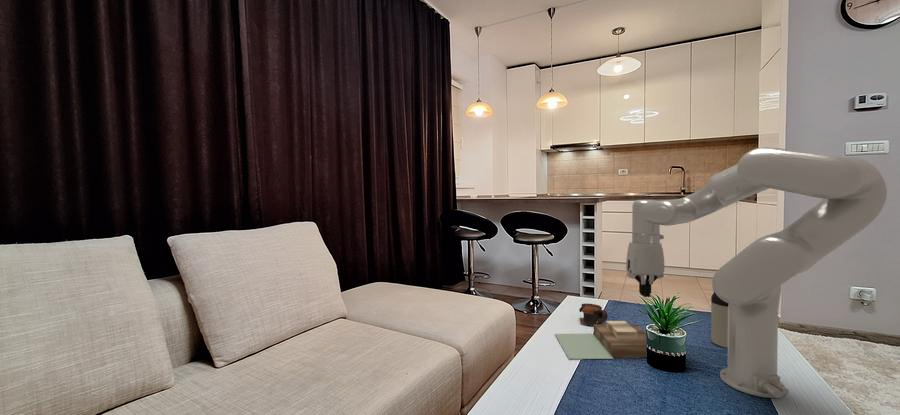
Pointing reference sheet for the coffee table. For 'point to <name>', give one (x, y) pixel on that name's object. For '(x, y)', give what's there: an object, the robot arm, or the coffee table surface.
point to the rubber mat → (582, 346)
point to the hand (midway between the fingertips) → (645, 295)
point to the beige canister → (719, 321)
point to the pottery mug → (592, 314)
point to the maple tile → (621, 330)
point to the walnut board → (621, 342)
